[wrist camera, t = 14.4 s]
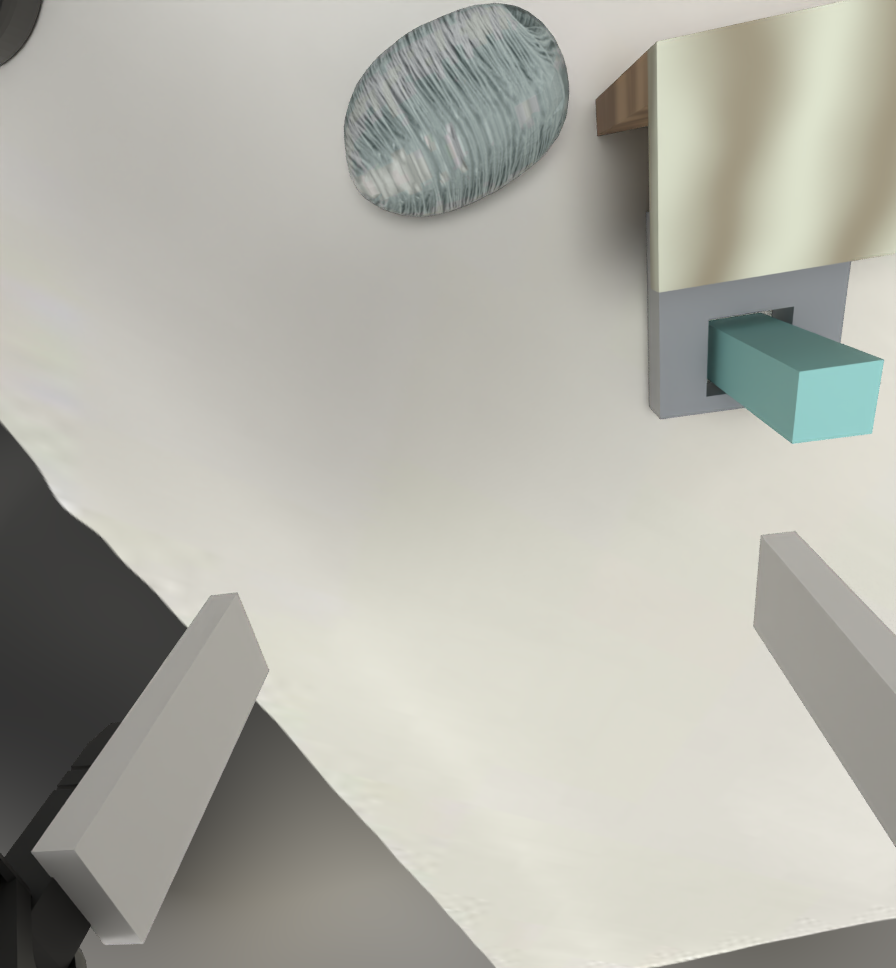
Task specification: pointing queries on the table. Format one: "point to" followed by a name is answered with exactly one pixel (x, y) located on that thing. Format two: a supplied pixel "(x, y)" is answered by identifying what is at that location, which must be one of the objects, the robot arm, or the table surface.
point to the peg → (794, 377)
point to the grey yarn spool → (456, 110)
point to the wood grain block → (766, 143)
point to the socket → (686, 313)
